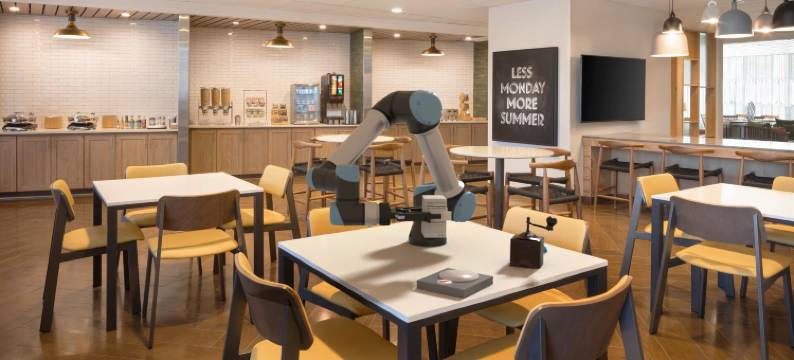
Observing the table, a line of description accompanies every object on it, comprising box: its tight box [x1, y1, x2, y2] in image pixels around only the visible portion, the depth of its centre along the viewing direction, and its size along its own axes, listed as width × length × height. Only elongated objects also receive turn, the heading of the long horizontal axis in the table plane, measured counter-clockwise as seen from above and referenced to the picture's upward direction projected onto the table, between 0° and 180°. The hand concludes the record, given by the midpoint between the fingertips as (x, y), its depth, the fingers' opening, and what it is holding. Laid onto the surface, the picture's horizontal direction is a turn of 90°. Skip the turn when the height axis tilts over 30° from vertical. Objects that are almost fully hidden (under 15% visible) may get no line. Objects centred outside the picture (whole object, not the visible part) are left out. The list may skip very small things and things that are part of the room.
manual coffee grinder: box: [508, 215, 558, 270], centre depth 213 cm, size 16×11×18 cm
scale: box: [416, 267, 494, 299], centre depth 188 cm, size 16×18×3 cm
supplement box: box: [421, 195, 448, 238], centre depth 202 cm, size 7×7×13 cm
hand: (449, 213), depth 202 cm, fingers closed on supplement box, 7 cm apart
